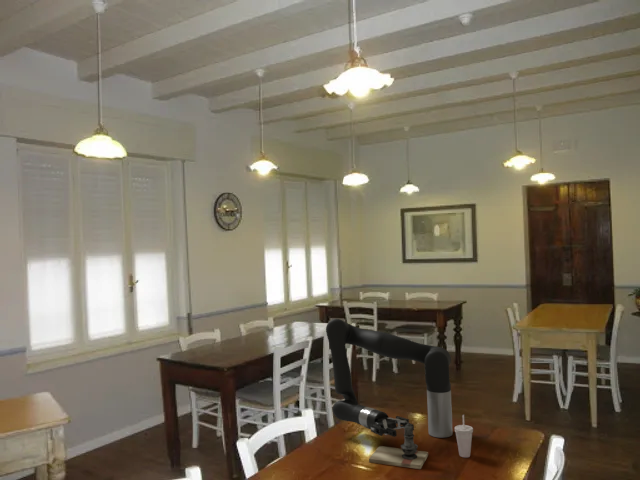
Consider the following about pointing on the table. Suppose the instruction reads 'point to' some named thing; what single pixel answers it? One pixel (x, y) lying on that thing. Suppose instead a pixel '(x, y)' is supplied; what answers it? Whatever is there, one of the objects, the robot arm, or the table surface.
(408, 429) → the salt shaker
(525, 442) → the table surface
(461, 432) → the smoothie
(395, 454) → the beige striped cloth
